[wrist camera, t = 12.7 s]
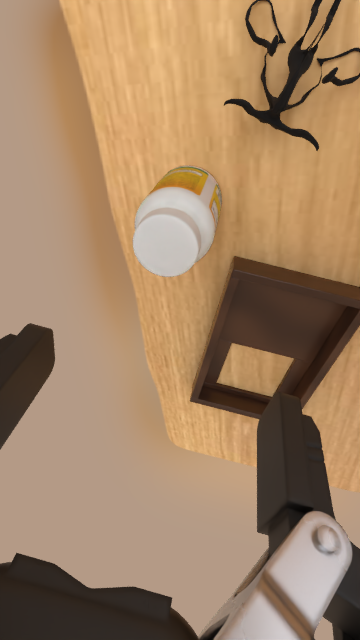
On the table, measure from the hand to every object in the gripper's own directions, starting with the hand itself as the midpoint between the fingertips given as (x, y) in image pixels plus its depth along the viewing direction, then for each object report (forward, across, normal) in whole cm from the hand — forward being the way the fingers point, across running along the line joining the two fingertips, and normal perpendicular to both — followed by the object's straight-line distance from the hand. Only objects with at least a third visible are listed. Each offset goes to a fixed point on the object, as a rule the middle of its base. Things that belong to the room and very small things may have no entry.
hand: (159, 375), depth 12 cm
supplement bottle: (+20, +2, 0) cm, 20 cm away
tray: (+19, -9, +13) cm, 25 cm away
